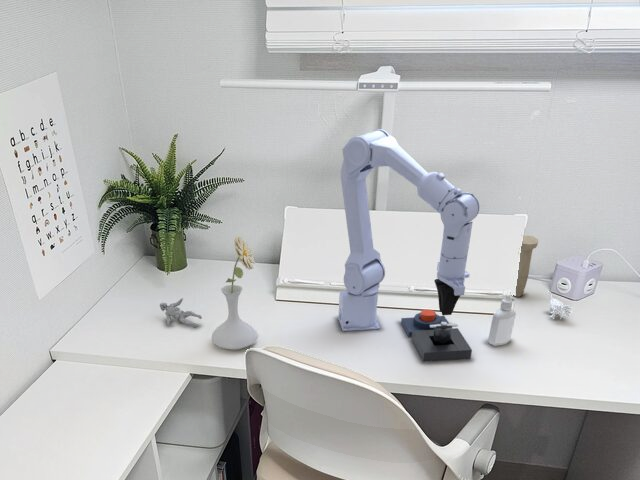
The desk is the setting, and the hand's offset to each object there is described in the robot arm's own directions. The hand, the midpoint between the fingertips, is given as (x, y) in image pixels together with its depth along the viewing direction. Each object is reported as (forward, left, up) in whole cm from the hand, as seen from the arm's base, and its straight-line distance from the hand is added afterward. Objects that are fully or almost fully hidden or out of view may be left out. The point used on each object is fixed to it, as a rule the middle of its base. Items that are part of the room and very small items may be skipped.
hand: (445, 312), depth 155 cm
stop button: (-1, +11, -7) cm, 13 cm away
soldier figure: (-62, +23, -10) cm, 67 cm away
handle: (+29, +28, -10) cm, 41 cm away
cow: (+34, +15, -10) cm, 38 cm away
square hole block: (0, 0, -9) cm, 9 cm away
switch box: (0, +11, -9) cm, 14 cm away
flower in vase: (-48, +10, -10) cm, 50 cm away
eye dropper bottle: (+15, +2, -10) cm, 18 cm away
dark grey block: (0, 0, -9) cm, 9 cm away
